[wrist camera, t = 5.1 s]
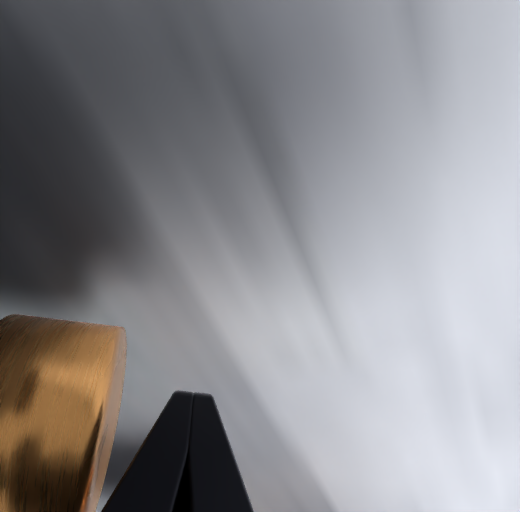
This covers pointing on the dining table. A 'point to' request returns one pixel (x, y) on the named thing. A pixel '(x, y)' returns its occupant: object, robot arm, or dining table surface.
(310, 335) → the dining table surface
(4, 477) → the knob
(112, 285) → the dining table surface
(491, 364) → the dining table surface
